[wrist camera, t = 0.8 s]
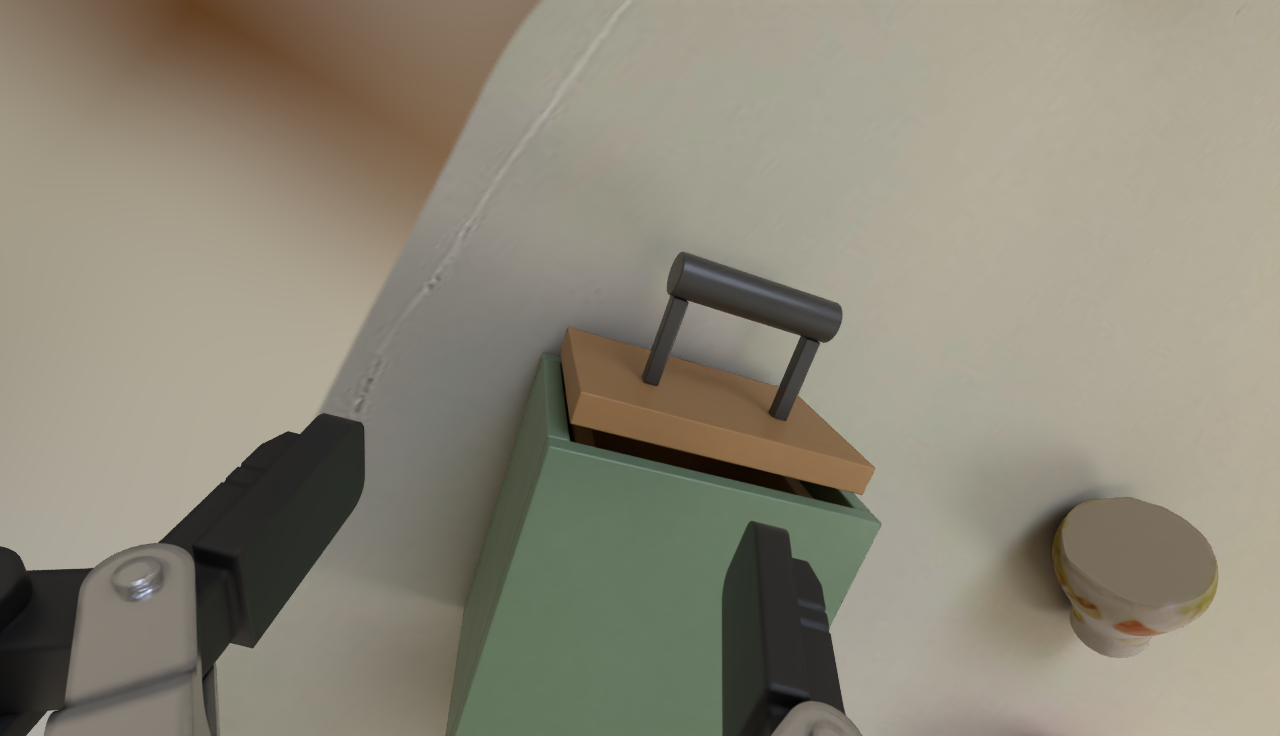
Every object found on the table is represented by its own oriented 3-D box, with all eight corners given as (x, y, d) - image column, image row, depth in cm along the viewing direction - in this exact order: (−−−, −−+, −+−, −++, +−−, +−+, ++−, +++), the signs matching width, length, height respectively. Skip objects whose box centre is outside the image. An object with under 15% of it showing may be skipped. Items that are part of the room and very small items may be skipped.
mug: (1037, 645, 41) (1125, 721, 31) (999, 496, 41) (1073, 524, 32) (1164, 629, 39) (1298, 704, 29) (1123, 476, 40) (1240, 499, 30)
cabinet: (543, 352, 28) (548, 445, 20) (784, 417, 32) (883, 523, 23) (463, 609, 32) (437, 785, 23) (685, 644, 36) (737, 811, 27)
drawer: (602, 215, 26) (630, 241, 19) (835, 293, 29) (937, 343, 22) (488, 578, 31) (474, 710, 24) (697, 614, 34) (742, 742, 27)
